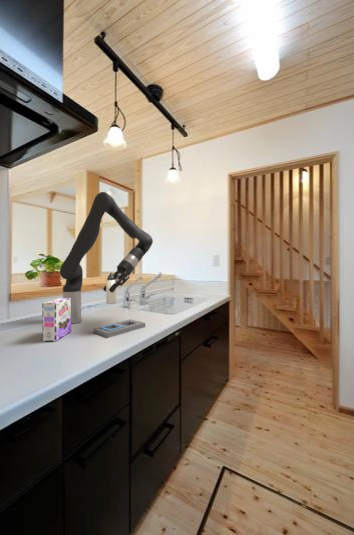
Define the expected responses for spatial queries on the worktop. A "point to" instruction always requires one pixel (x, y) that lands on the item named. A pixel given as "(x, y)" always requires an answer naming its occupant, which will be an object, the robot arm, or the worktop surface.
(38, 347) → the worktop surface
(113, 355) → the worktop surface
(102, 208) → the robot arm
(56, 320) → the candy box
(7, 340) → the worktop surface
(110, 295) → the cream upright block
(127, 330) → the grey socket board
